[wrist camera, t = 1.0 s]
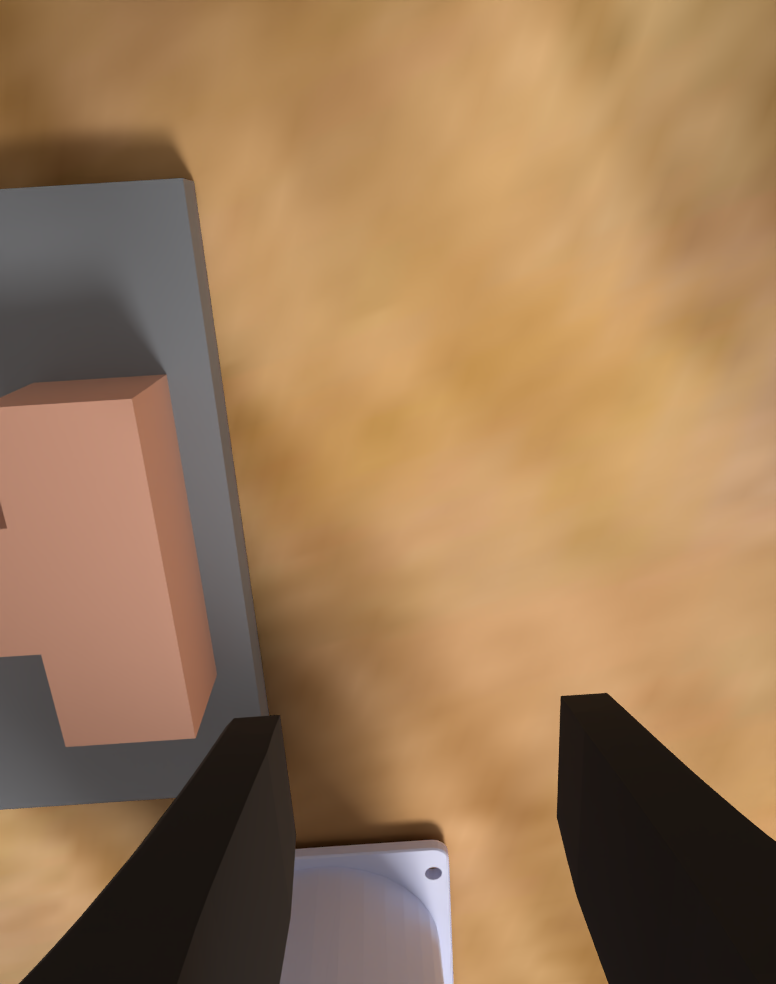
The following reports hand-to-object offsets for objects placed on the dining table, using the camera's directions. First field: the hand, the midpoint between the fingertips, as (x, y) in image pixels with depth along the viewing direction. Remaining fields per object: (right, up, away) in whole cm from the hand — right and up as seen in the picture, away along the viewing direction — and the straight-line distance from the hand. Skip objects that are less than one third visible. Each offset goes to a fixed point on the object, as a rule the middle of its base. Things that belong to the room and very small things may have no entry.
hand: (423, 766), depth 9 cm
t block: (-9, +2, +8) cm, 12 cm away
